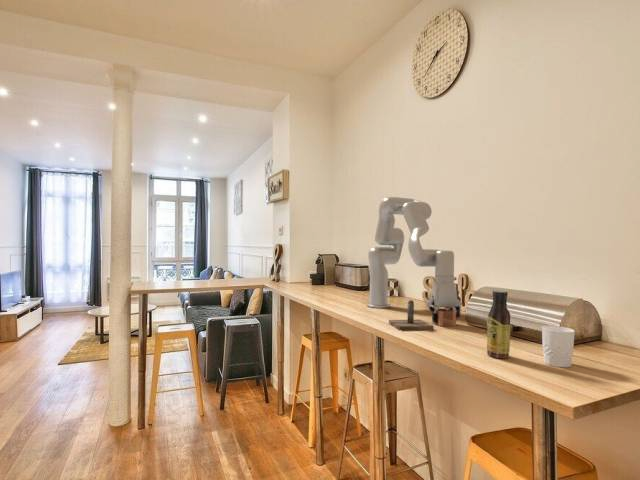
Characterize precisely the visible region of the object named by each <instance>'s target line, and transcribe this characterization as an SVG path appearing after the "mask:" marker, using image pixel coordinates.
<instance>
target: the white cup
mask: <svg viewBox="0 0 640 480" xmlns="http://www.w3.org/2000/svg"><path fill="white" fill-rule="evenodd" d="M575 332H576V331H575V330H574V329H572V328H569V327H564V326H557V325H542V326H541V340H542V343H541V344H542V352H543V353H542V355H543V356H542V357H543V362H544V363H545V364H547V365H549V366H553V367H558V368H571V367H572V365H573V364H572V363H573V357H574V356H573V355H574V346H575V345H574V343H575Z"/></svg>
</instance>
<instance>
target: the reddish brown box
mask: <svg viewBox="0 0 640 480" xmlns="http://www.w3.org/2000/svg"><path fill="white" fill-rule="evenodd" d="M437 313H438V323H435V322H433V320H432V319H431V323H432V324H434V325H436V326H439V327H456V326H457V317H456V311H454V310H451V309H448V308H445V307H439V309H438V311H437Z"/></svg>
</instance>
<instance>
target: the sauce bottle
mask: <svg viewBox="0 0 640 480" xmlns="http://www.w3.org/2000/svg"><path fill="white" fill-rule="evenodd" d="M507 298H508V291H505V290H500V289H495V290H492V305H491V308H490V310H489V313H488V315H487V327H486V328H487V329H486V331H487V332H486V353H487V355H488V356H489V357H492V358H494V359H508V358H509V357H510V355H509V354H510V347H511V346H510V345H511V342H510V341H511V312H510V311H509V310H508V307H507V306H508V304H507V303H508V302H507Z"/></svg>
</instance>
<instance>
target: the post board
mask: <svg viewBox="0 0 640 480" xmlns="http://www.w3.org/2000/svg"><path fill="white" fill-rule="evenodd" d="M414 309H415V303H414V301H413V300H411V299H410V300H408V301H407V319H388V324H389V325H390V326H391V327H394V328H395V330H396V329H397V330H398V331H400V330H403V331H433V330H434V325H432V324H430V323H428V322H426V321H424V320H422V319H415V318H414V316H415V311H414ZM400 332H401V331H400Z"/></svg>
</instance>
